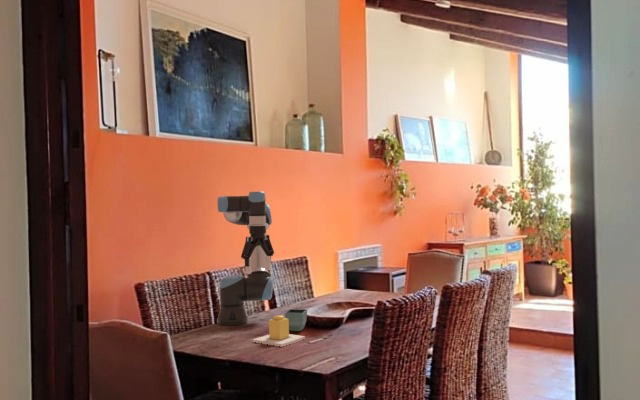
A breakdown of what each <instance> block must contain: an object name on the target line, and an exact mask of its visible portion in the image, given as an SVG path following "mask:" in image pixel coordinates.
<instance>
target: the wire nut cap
mask: <svg viewBox="0 0 640 400" xmlns="http://www.w3.org/2000/svg"><path fill="white" fill-rule="evenodd" d="M268 329H269V331H268V332H269V334H268V335H269V338H271V339H277V340H282V339H285V338H288V337H289V334H290V330H289V319H288V318H285V315H282V314H281V315H273V318H271V319H269V320H268Z"/></svg>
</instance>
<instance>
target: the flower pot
mask: <svg viewBox="0 0 640 400" xmlns="http://www.w3.org/2000/svg"><path fill="white" fill-rule="evenodd" d="M284 318H288V319H289V332H290V331H291V332H301V331H302V330H303V329H304V328H305V325H306V323H307V318H308V309H306V308H305V309H304V308H303V309H301V308H299V309H295V308H294V309H291V308H290V309H288V310H287V311H285V312H284Z"/></svg>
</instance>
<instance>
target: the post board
mask: <svg viewBox="0 0 640 400" xmlns="http://www.w3.org/2000/svg"><path fill="white" fill-rule="evenodd" d="M303 339H304V340H306V336H305V335H300V334H299V335H298V334H291V333H289V337H288V338H285V339H282V340H277V339H271V338H269V334H266V335H262V336H261V337H256V338H254V339H252V343H255V342H256V344H261V343H262V345H267V344H268V346H273V345H274V346H273V347H279V346H280V347H281V348H283V346H284V347H286V345H287V346H290V345H292V344H295V343H298V342H301V341H303ZM289 344H290V345H289ZM280 347H279V348H280Z"/></svg>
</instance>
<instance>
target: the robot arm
mask: <svg viewBox="0 0 640 400" xmlns="http://www.w3.org/2000/svg"><path fill="white" fill-rule="evenodd" d="M216 202H217V212H218V213H223V217H224V219H225V220H226V221H228V222H229V223H232V224H234V225H239V226H247V229H248V231H249V232H248V233H249V236H246V237H245V241H244V245H243V248H242V252H241V255H240V258H241V259H242V260H244V269H245V275H246V274H247V277H244V275H243V274H234V275H229V276H225V277H223V278H221V279H220V282H219V289H220V290H219V293H220V295H219V298H220V299H219V300H220V301H219V302H220V305H219V306H220V307H219V312H218V317H216V323H217V325H218V326H219V325H220V326H239V325H244V324H247V323H248V321H249V319H248V315H247V313H246V309H245V302H256V301H257V302H258V301H259V302H260V301H262V302H264V301H270V300H271V299H272V297H273V290H274V289H273V288H274V280H275V279H274V278H275V277H273V276H272V275H271V272H270V271H271V268H272V267H271V265H272V264H271V263H272V256H274V254H275V250H274V248H273V245H272V242H271V238H270V235H269V234H267V230H269V228H270V225H272V223H273V222H272V212H271V208H270V204H268V203H266V193H265V191H250V192H249V193H248V195H231V196H230V195H223V196H218V197H217V201H216Z"/></svg>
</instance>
